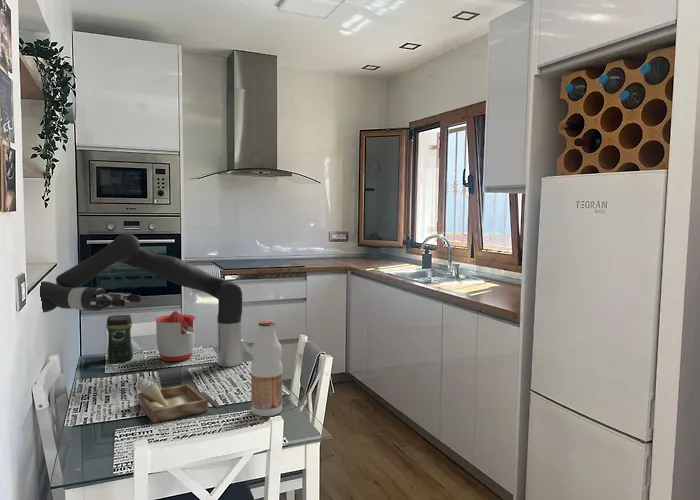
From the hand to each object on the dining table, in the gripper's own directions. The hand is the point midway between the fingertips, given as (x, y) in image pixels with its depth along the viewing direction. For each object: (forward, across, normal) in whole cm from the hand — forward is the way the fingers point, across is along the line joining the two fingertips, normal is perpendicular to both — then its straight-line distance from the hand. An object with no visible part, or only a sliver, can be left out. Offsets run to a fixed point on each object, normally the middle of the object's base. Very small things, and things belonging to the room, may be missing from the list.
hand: (132, 300), depth 168 cm
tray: (+18, -4, +32) cm, 37 cm away
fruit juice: (+46, -3, +32) cm, 56 cm away
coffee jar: (-31, +39, +32) cm, 59 cm away
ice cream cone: (+16, -7, +31) cm, 36 cm away
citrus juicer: (-9, +45, +32) cm, 56 cm away
